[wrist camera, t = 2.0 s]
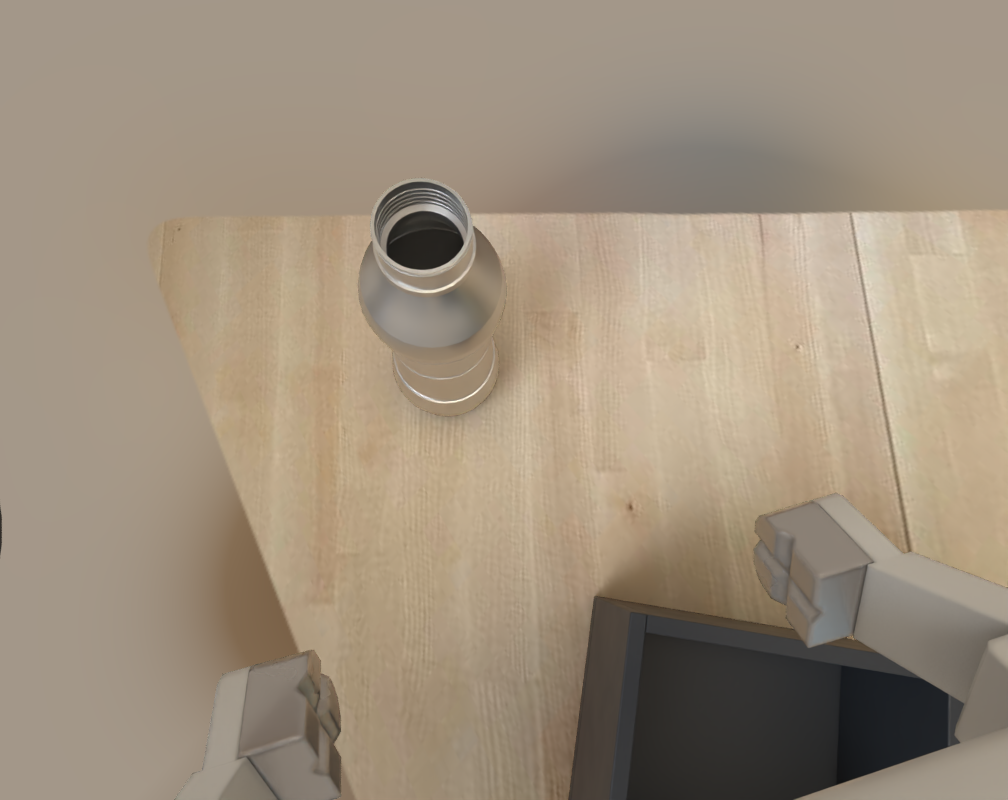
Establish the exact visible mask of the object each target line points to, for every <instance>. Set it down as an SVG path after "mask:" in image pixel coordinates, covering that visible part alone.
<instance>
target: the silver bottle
mask: <svg viewBox="0 0 1008 800" xmlns="http://www.w3.org/2000/svg"><path fill="white" fill-rule="evenodd" d="M370 232H371V239H372V241H371V243H370V245H369V246H368V248H367V250H366V252H365V255H364V257H363V260H362V263H361V267H360V271H359V278H358V296H359V302H360V305H361V308H362V312H363V314H364V316H365V318H366V320H367V322H368V324H369V326H370V327H371V328H372V329H373V331H374V332H375V333H376V335H377V336H378V337H379V338H380V340H381V341H382V342H383V343H384V344H385V345H387V346H388V347H389V348H390V349H391V350H393V353H392V363H393V372H394V376H395V379H396V382H397V384H398V386H399V388H400V390H401V392H402V393H403V394H404V395H405V396H406V398H407V399H408V400H409V401H410V402H412V403H413V404H414V405H415V406H416V407H418V408H420V409H422V410H424V411H426V412H429V413H432V414H435V415H440V416H457V415H460V414H464V413H467V412H468V411H470V410H472V409H474V408H476V407H477V406H478V405H479V404H481V403H482V402H483V401H484V400H485V399H486V398H487V396H488V395H489V394H490V393H491V391H492V389H493V387H494V385H495V383H496V380H497V377H498V373H499V356H498V351H497V348H496V345H495V342H494V339H493V336H492V335H493V334H494V332H495V330H496V328H497V326H498V324H499V322H500V320H501V317H502V314H503V310H504V307H505V303H506V294H507V283H506V276H505V271H504V268H503V266H502V263H501V260H500V258H499V256H498V255H497V253H496V251H495V249H494V248H493V246H492V245H491V243H490V242H489V241H488V240H487V238H486V237H485V236H484V235H483V234H482V233H481V232H480V231H479V230H478V229H477V228H475V227H474V226H473V224H472V218H471V215H470V212H469V210H468V207H467V206H466V204H465V202H464V200H463V199H462V198H461V197H460V196H459V195H458V193H457V192H456V191H454V190H453V189H452V188H450V187H449V186H447V185H445V184H443V183H441V182H439V181H436V180H432V179H426V178H414V179H408V180H404V181H401V182H399V183H397V184H395V185H393V186H392V187H390V188H389V189H387V190H386V191H385V192H384V193H383V194H382V195H381V196H380V197H379V199H378V201H377V203H376V204H375V206H374V208H373V211H372V214H371V221H370Z"/></svg>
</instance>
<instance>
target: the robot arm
mask: <svg viewBox="0 0 1008 800" xmlns="http://www.w3.org/2000/svg"><path fill="white" fill-rule="evenodd" d="M755 533H756V534H757V535H758V536H759V538H760V539H761V540H760V541H759V542H758V544H757V545H756V547H755V548H754V565H755V569H756V572H757V576H758V578H759V580H760V582H761V584H762V586H763V587H764V589H765V590H766V592H767V593H768V595H769V596H770V597H771V599H774V600H776V601H778V602H780V603H782V604H784V605H786V619H787V621H788V622H789V623H790V625H791V626H792V627H793V629H794V630H795V631H796V633H797V634H798V635H799V637H800V638H801V639H802V641H803V642H804V644H805V645H806V646H807V648H810V647H814V646H817V645H821V644H824V643H828V642H831V641H835V640H838V639H842V638H845V637H849V636H852V635H854V636H853V638H854V639H856V640H858V641H860V642H861V643H863V644H865V645H866V646H868V647H870V648H871V649H873V650H875V651H876V652H878V653H880V654H882V655H883V656H885V657H887V658H888V659H890V660H892V661H893V662H895V663H897V664H898V665H900V666H902V667H904V668H905V669H907V670H909V671H910V672H912V673H914V674H915V675H917V676H919V677H920V678H922V679H924V680H925V681H927V682H929V683H931V684H932V685H934V686H936V687H937V688H939V689H941V690H942V691H944V692H946V693H947V694H949V695H951V696H953V697H954V698H956V699H958V700H959V701H961V702H963V703H964V706H963V709H962V711H961V714H960V717H959V719H958V722H957V725H956V729H955V735H954V736H955V737H956V738H957V739H958V740H959V742H960V743H959V744H956V745H953V746H950V747H947V748H944V749H941V750H938V751H935V752H932V753H930V754H927V755H924V756H921V757H918V758H915V759H912V760H909V761H906V762H903V763H900V764H897V765H894V766H891V767H888V768H885V769H883V770H880V771H877V772H874V773H871V774H868V775H865V776H862V777H859V778H856V779H853V780H850V781H847V782H844V783H841V784H838V785H835V786H833V787H830V788H827V789H824V790H821V791H818V792H815V793H812V794H809V795H806V796H803V797H800V798H797V799H794V800H1008V588H1007V587H1004V586H1001V585H999V584H996V583H993V582H991V581H988V580H985V579H983V578H980V577H977V576H975V575H972V574H970V573H967V572H964V571H962V570H959V569H956V568H954V567H951V566H948V565H946V564H943V563H940V562H938V561H935V560H932V559H930V558H927V557H925V556H922V555H919V554H917V553H914V552H908V553H904V554H903V553H902V552H901V551H900V550H899V549H898V548H897V547H896V546H895V545H894V544H893V543H892V542H891V541H890V540H889V539H888V538H887V537H886V536H885V535H884V534H883V533H881V532H880V531H879V530H878V529H877V528H876V527H875V526H874V525H873V524H872V523H871V522H870V521H869V520H868V519H867V518H866V517H865V516H864V515H863V514H862V513H861V512H860V511H858V510H857V509H856V508H855V507H854V506H853V505H852V504H851V503H850V502H849V501H848V500H847V499H846V498H845V497H844V496H843V495H840V494H838V493H834V494H830V495H827V496H824V497H820V498H817V499H814V500H810V501H805V502H802V503H799V504H796V505H792V506H789V507H786V508H783V509H780V510H776V511H773V512H770V513H767V514H764V515H760V516H759V517H758V518H757V520H756V521H755ZM340 732H341V716H340V709H339V703H338V697H337V694H336V691H335V688H334V685H333V683H332V681H331V679H330V677H329V676H326V675H324V674H321V660H320V659H319V657H318V655H317V654H316V652H315V650H308V651H305V652H301V653H297V654H294V655H290V656H286V657H283V658H279V659H275V660H271V661H268V662H264V663H260V664H256V665H253V666H250V667H246V668H243V669H239V670H236V671H232V672H228V673H225V674H223V675H222V677H221V679H220V681H219V682H218V684H217V689H216V695H215V701H214V707H213V712H212V717H211V723H210V729H209V734H208V740H207V745H206V751H205V757H204V763H203V768H202V771H199V772H195V773H193V774H192V776H191V777H190V778H189V780H188V781H187V782H186V784H185V785H184V786H183V788H182V789H181V791H180V792H179V794H178V795H177V796H176V798H175V799H174V800H333V799H337V798H339V797H341V756H340V755H339V753H338V751H337V749H336V747H335V746H334V742H335V741H336V739H337V737H338V736H339V734H340Z"/></svg>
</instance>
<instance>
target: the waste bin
mask: <svg viewBox="0 0 1008 800" xmlns="http://www.w3.org/2000/svg"><path fill="white" fill-rule="evenodd" d="M963 706H964V703H963V702H961V701H959V700H958V699H956V698H954V697H953V696H951V695H949V694H947V693H946V692H944V691H942V690H941V689H939V688H937V687H936V686H934V685H932V684H931V683H929V682H927V681H925V680H924V679H922V678H920V677H919V676H917V675H915V674H914V673H912V672H910V671H909V670H907V669H905V668H904V667H902V666H900V665H898V664H897V663H895V662H893V661H892V660H890V659H888V658H887V657H885V656H883V655H882V654H880V653H878V652H876V651H875V650H873V649H871V648H870V647H868V646H866V645H865V644H863V643H861V642H860V641H856V640H852V639H848V638H842V639H838V640H835V641H831V642H828V643H824V644H821V645H817V646H814V647H810V648H807V646H806V645H805V644H804V642H803V641H802V639H801V638H800V637H799V635H798V634H797V633H796V631H795V630H794V629H788V628H783V627H777V626H771V625H765V624H759V623H753V622H747V621H741V620H735V619H729V618H723V617H717V616H711V615H705V614H699V613H693V612H687V611H681V610H675V609H669V608H664V607H658V606H652V605H646V604H640V603H634V602H628V601H622V600H616V599H610V598H604V597H598V596H594V602H593V610H592V618H591V626H590V634H589V642H588V650H587V658H586V665H585V673H584V681H583V689H582V697H581V705H580V713H579V721H578V728H577V736H576V744H575V752H574V760H573V768H572V776H571V784H570V792H569V799H568V800H794V799H797V798H800V797H803V796H806V795H809V794H812V793H815V792H818V791H821V790H824V789H827V788H830V787H833V786H835V785H838V784H841V783H844V782H847V781H850V780H853V779H856V778H859V777H862V776H865V775H868V774H871V773H874V772H877V771H880V770H883V769H885V768H888V767H891V766H894V765H897V764H900V763H903V762H906V761H909V760H912V759H915V758H918V757H921V756H924V755H927V754H930V753H932V752H935V751H938V750H941V749H944V748H947V747H950V746H953V745H956V744H959V743H960V742H959V740H958V739H957V738H956V737H955V736H954V735H955V729H956V725H957V722H958V719H959V717H960V714H961V711H962V709H963Z"/></svg>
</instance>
